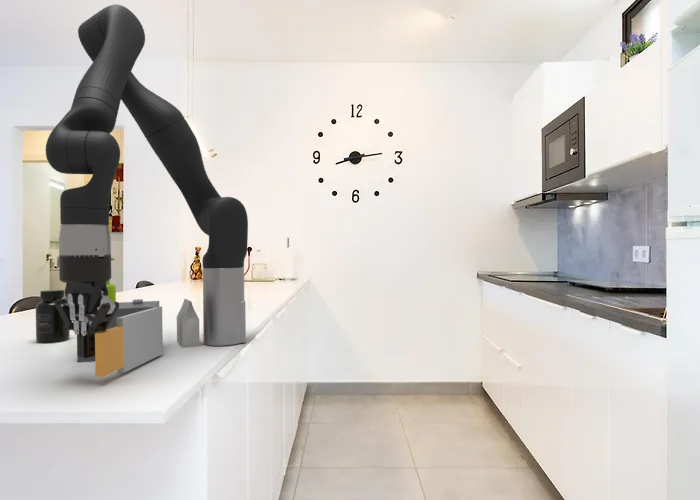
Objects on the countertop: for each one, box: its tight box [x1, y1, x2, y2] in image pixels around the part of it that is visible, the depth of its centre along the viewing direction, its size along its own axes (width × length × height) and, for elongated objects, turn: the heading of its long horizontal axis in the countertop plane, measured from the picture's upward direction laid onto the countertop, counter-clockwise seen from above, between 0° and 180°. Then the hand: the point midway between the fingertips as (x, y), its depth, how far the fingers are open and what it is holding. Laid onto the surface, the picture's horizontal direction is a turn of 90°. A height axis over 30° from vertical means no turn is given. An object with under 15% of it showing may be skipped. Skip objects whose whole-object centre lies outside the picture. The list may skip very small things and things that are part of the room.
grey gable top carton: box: [176, 298, 201, 348], centre depth 108 cm, size 4×7×10 cm, turn 30°
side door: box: [94, 306, 164, 378], centre depth 86 cm, size 21×1×10 cm, turn 175°
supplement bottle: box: [35, 289, 71, 344], centre depth 113 cm, size 7×7×12 cm
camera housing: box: [76, 298, 160, 363], centre depth 100 cm, size 14×13×11 cm
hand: (87, 356), depth 78 cm, fingers closed
